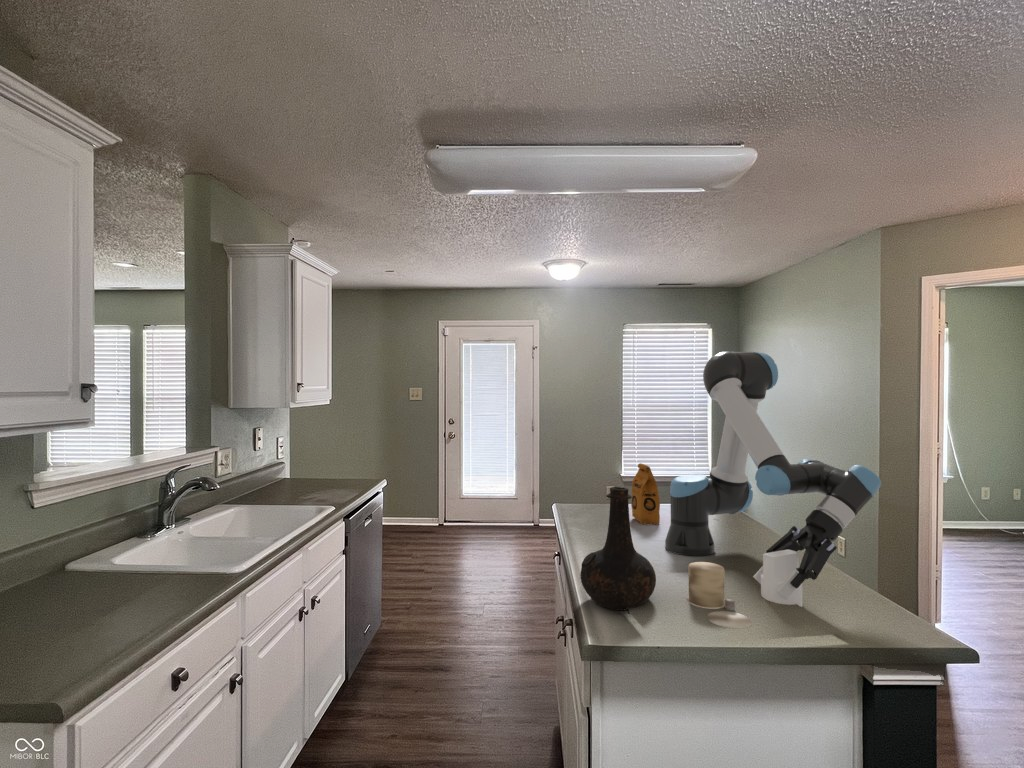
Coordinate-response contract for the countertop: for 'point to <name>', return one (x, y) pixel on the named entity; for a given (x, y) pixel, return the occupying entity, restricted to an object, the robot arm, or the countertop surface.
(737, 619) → the board
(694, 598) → the oak cylinder
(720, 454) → the robot arm
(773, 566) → the cylinder with rectangular tab
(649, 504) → the coffee package
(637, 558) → the glass bottle
